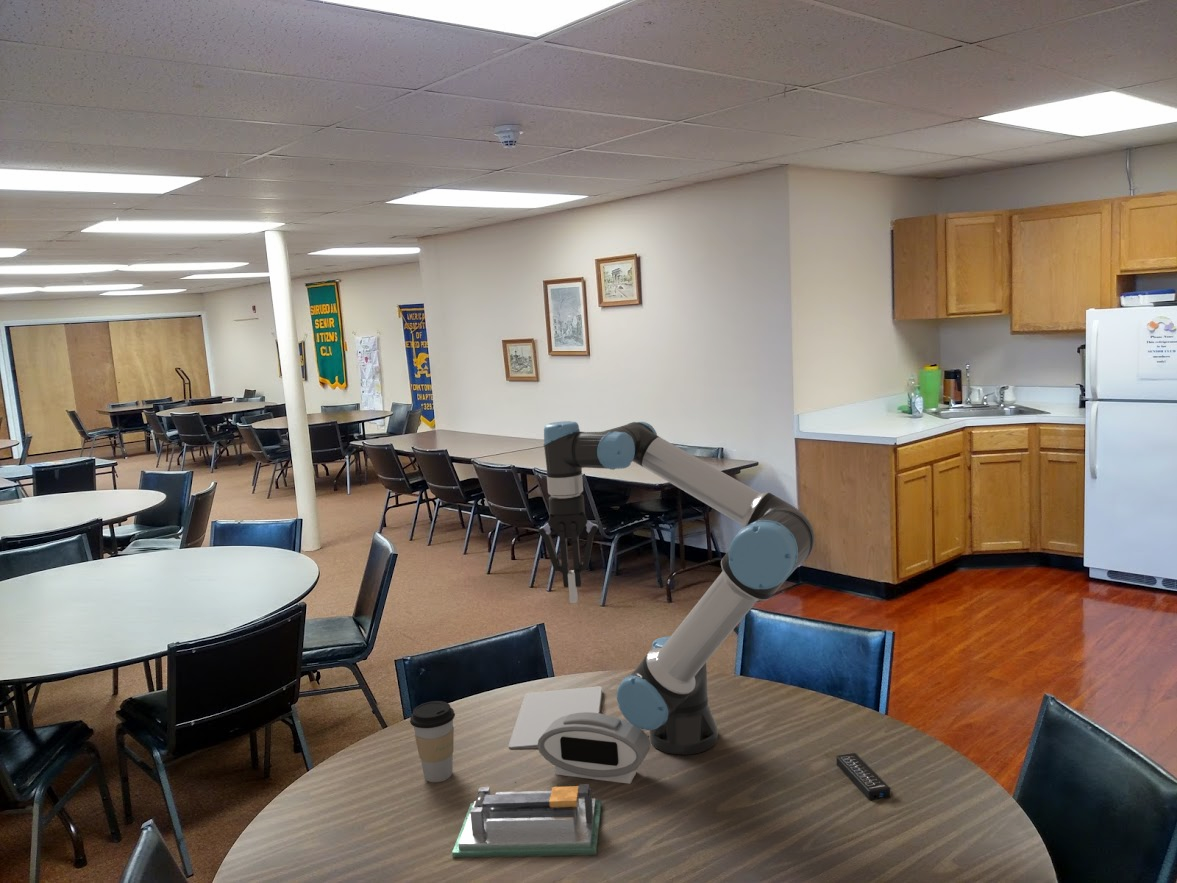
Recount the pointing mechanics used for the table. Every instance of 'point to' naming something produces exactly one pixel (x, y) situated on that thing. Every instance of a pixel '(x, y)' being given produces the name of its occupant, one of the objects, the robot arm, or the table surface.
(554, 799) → the orange tipped grey lever
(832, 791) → the table surface
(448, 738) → the coffee cup
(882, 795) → the multiport hub
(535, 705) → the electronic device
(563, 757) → the alarm clock
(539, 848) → the heatsink
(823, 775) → the table surface
